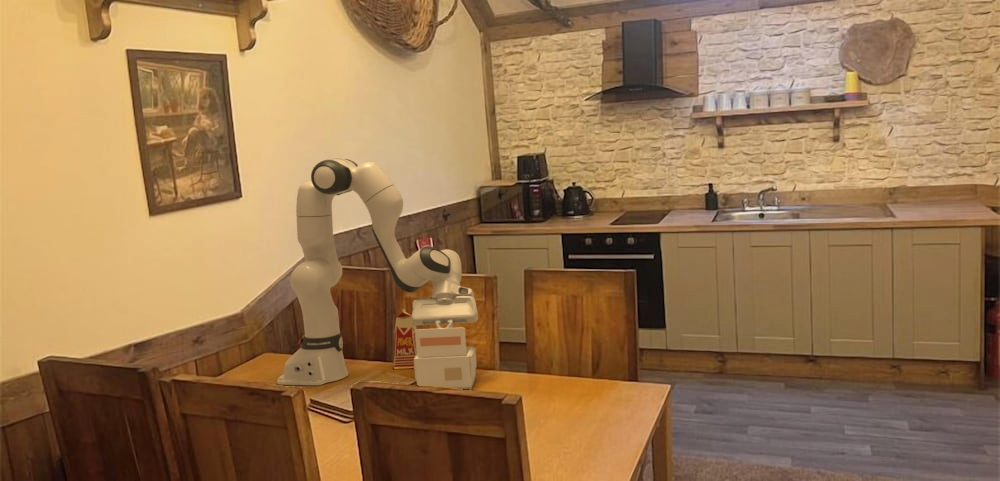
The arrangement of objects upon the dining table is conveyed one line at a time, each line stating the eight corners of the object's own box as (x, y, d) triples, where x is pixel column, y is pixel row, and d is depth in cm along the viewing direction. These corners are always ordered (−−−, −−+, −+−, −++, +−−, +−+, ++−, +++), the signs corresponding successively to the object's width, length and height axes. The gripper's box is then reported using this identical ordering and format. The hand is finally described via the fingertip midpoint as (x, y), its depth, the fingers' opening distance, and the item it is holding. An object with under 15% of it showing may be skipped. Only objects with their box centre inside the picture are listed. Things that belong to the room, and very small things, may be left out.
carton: (415, 392, 215) (413, 359, 214) (423, 379, 228) (421, 348, 227) (473, 390, 214) (470, 356, 212) (477, 377, 226) (475, 345, 225)
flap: (417, 356, 214) (416, 356, 213) (415, 329, 214) (414, 329, 213) (466, 354, 213) (466, 354, 212) (464, 327, 212) (464, 327, 212)
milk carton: (420, 368, 241) (415, 309, 238) (392, 370, 241) (387, 310, 239) (423, 361, 250) (419, 303, 248) (396, 362, 250) (392, 305, 248)
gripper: (411, 292, 225) (407, 330, 217) (476, 288, 224) (475, 327, 215) (415, 303, 230) (411, 341, 222) (479, 300, 229) (478, 338, 220)
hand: (443, 334), depth 218 cm, fingers closed
